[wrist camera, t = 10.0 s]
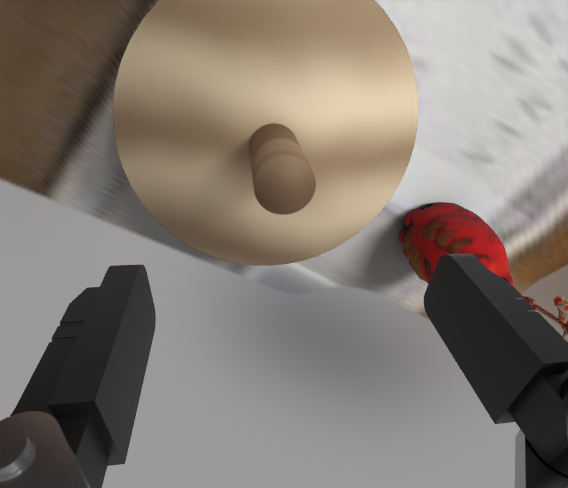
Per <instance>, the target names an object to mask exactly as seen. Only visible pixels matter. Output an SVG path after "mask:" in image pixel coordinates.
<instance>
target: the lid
mask: <svg viewBox="0 0 568 488" xmlns="http://www.w3.org/2000/svg"><path fill="white" fill-rule="evenodd" d="M418 110H419V107H418V91H417V84H416V79H415V74H414V69H413V65H412V63H411V60H410V57H409V54H408V51H407V48H406V46H405V44H404V42H403V40H402V38H401V36H400V34H399V32H398V30H397V28H396V27H395V25H394V24H393V22H392V21H391V20H390V18H389V17H388V15H387V14H386V13H385V11H384V10H383V9H382V8H381V6H380V5H379V4H378V3H377V2H376V1H375V0H159V1H158V2H157V3H156V4H155V6H154V7H153V8H152V9H151V10H150V11H149V13H148V14H147V15H146V16H145V17H144V18H143V20H142V21H141V23H140V25H139V26H138V28H137V30H136V31H135V33H134V34H133V36H132V38H131V39H130V41H129V44H128V46H127V49H126V51H125V53H124V56H123V58H122V61H121V63H120V67H119V71H118V75H117V79H116V83H115V90H114V100H113V127H114V134H115V140H116V146H117V151H118V154H119V157H120V160H121V163H122V166H123V170H124V172H125V174H126V176H127V178H128V180H129V182H130V184H131V187H132V188H133V190H134V192H135V193H136V195H137V196H138V198H139V199H140V201H141V203H142V204H143V205H144V206H145V208H146V209H147V210H148V211H149V213H150V214H151V215H152V216H153V217H154V218H155V219H156V220H157V221H158V222H159V223H160V224H161V225H162V226H163V227H164V228H165V229H166V230H167V231H169V232H170V233H171V234H173V235H174V236H175V237H177V238H178V239H179V240H181V241H182V242H184V243H186V244H187V245H189V246H191V247H192V248H194V249H196V250H198V251H201V252H203V253H205V254H207V255H209V256H212V257H216V258H219V259H222V260H225V261H229V262H234V263H239V264H247V265H281V264H289V263H293V262H298V261H303V260H306V259H309V258H312V257H315V256H318V255H320V254H323V253H325V252H327V251H329V250H332V249H334V248H335V247H337V246H339V245H341V244H342V243H344V242H346V241H347V240H349V239H350V238H351V237H353V236H354V235H356V234H357V233H358V232H360V231H361V230H362V229H363V228H364V227H365V226H366V225H368V224H369V223H370V222H371V221H372V220H373V219H374V218H375V217H376V216H377V214H378V213H379V212H380V211H381V210H382V209H383V208H384V206H385V205H386V204H387V202H388V201H389V199H390V198H391V197H392V195H393V194H394V192H395V190H396V188H397V187H398V185H399V183H400V182H401V180H402V177H403V175H404V173H405V171H406V168H407V166H408V164H409V161H410V157H411V154H412V151H413V148H414V143H415V138H416V133H417V125H418Z"/></svg>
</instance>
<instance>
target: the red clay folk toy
mask: <svg viewBox="0 0 568 488" xmlns="http://www.w3.org/2000/svg"><path fill="white" fill-rule="evenodd" d="M399 241H400V242H401V243H402V244H404V247H405V249H404V253H405V256H406V257H407V258H408V259H409V263H410V265H411V267H412V269H413V270H414V271H415V272H416V274H417V275H418V277H419V278H420V279H422V280H424V281H426V282H427V283H428V284H429V282H430V279H431V277H432V274H433V272H434V269H435V267H436V264H437V262H438V260H439V258H440V257H441V256H442V255H445V254H468V253H469V254H473V255H475V256H476V257H477V258H478V259H479V260H480V261H481V262H482V263H483V264H484V265H485V266H486V267H487V268H488V269H489V270H490V271H492V272H493V273H495V274H496V275H498V276H500V277H501V278H503V279H504V280H506V281H507V282H509V283H510V284H511V285H513V279H512V277H511V275H510V272H509V263H508V259H507V255H506V252H505V248H504V246H503V243H502V242H501V241H500V239H499V238H498V236H497V234H496V233H495V232H494V231H493V230H492V228H491V227H490V226H489V225H488V224H486V223H485V222H484V221H483V220H482V219H481V218H480V217H479V216H477V215H476V214H474V213H473V212H471V211H469V210H467V209H464V208H463V207H461V206H459V205H456V204H454V203H446V202H437V203H431V204H427V205H425V207H424V209H421V208H418V209H416V210H413V211H411V212H410V213H409V214H408V215H407V216H406V218H405V222H404V227H403V229H402V230H401V232H400V234H399ZM523 300H527V301H528V302H529V303H530V304H531V305H532V306H533V307H534V308H535V310H538V311H540V312H541V313H543V314H544V315H546V316H547V317H549V318H550V319H552V320H554V321H555V322H557V323H558V324H560V325H561V327H562V329H563V330H564V331H565V332H564V334H563V336H562V337H563V338H564V339H566V336H567V335H568V321H566V320H565V317H566V315H567V312H568V300H567V299H565V298H564V297H558V296H557V297H556V298H554V305H556V306H557V307H558V311H559V316H558V317H559V318H557V317H555V316H554V315H552V314H551V313H549V312H547V311H546V310H544V309H542V308H541V307H540V306H538V305H536V301H535V300H533V299H532V298H529V297H525V296H523Z"/></svg>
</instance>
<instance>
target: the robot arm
mask: <svg viewBox="0 0 568 488" xmlns="http://www.w3.org/2000/svg"><path fill="white" fill-rule="evenodd" d="M424 307H425V311H426V313H427V315H428V317H429V319H430V320H431V322H432V324H433V325H434V327H435V328H436V330H437V332H438V333H439V335H440V336H441V338H442V340H443V341H444V343H445V344H446V346H447V348H448V349H449V351H450V352H451V354H452V355H453V357H454V359H455V361H456V362H457V364H458V365H459V367H460V369H461V370H462V372H463V373H464V375H465V377H466V378H467V380H468V381H469V383H470V384H471V386H472V388H473V389H474V391H475V393H476V394H477V396H478V397H479V399H480V401H481V402H482V404H483V405H484V407H485V409H486V410H487V412H488V413H489V415H490V417H491V418H492V420H493V421H494V423H495V424H499V423H508V422H516V423H517V425H518V426H519V427H520V430H519V432H518V433H517V435H516V440H515V488H568V342H567V341H566V340H565V339H564V338H563V337H562V336H561V335H560V334H559V333H558V332H557V331H556V330H555V329H554V328H553V327H552V326H551V325H550V324H549V323H548V322H547V321H546V320H545V319H544V318H543V317H542V316H541V315H540V314H539V313H538V312H535V308H534V307H533V306H532V305H531V304H530V303H529V302H528V301H527V300H523V296H522V295H521V294H520V293H519V292H518V291H517V290H516V289H515V288H514V287H513V286H512V285H511V284H510V283H509V282H507V281H506V280H504V279H503V278H501V277H500V276H498V275H496V274H495V273H493V272H492V271H490V270H489V269H488V268H487V267H486V266H485V265H484V264H483V263H482V262H481V261H480V260H479V259H478V258H477V257H476V256H475V255H473V254H469V253H468V254H445V255H442V256H441V257H440V258H439V260H438V262H437V264H436V267H435V269H434V272H433V274H432V277H431V279H430V282H429V284H428V287H427V289H426V292H425V295H424ZM154 331H155V307H154V303H153V298H152V294H151V290H150V285H149V281H148V277H147V272H146V269H145V267H144V265H120V266H110V267H109V268H108V270H107V272H106V274H105V277H104V279H103V281H102V283H101V286H100V287H94V288H86V289H85V290H84V291H83V292H82V293H81V294H80V295H79V296H78V297H76V298H75V299H74V300H73V301H72V302H71V303H70V304H69V306H68V308H67V310H66V312H65V314H64V316H63V318H62V320H61V321H60V326H58V327H57V329H56V331H55V333H54V335H53V337H52V342H50V343H49V345H48V346H47V348H46V350H45V352H44V354H43V356H42V358H41V360H40V362H39V364H38V366H37V368H36V370H35V372H34V373H33V375H32V377H31V379H30V381H29V383H28V385H27V387H26V389H25V391H24V393H23V394H22V397H21V399H20V400H19V402H18V404H17V406H16V408H15V409H14V411H13V413H12V414H11V415H10V417H7V418H5V419H3V420H1V421H0V488H102V484H103V480H104V476H105V472H106V469H107V466H109V465H118V464H125V461H126V456H127V452H128V447H129V442H130V438H131V434H132V429H133V425H134V420H135V416H136V411H137V407H138V403H139V398H140V393H141V389H142V384H143V380H144V375H145V371H146V367H147V362H148V358H149V353H150V349H151V344H152V340H153V335H154Z"/></svg>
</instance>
